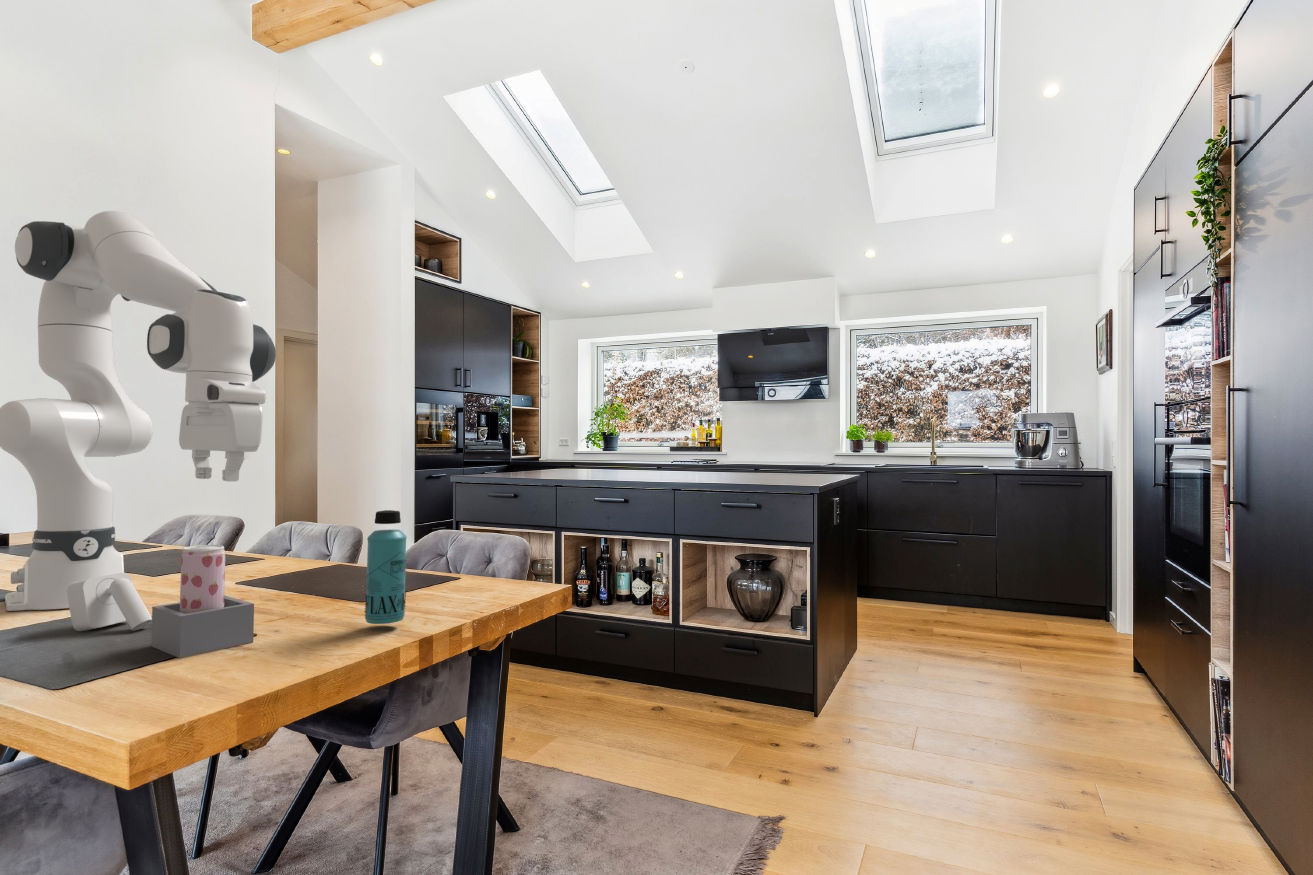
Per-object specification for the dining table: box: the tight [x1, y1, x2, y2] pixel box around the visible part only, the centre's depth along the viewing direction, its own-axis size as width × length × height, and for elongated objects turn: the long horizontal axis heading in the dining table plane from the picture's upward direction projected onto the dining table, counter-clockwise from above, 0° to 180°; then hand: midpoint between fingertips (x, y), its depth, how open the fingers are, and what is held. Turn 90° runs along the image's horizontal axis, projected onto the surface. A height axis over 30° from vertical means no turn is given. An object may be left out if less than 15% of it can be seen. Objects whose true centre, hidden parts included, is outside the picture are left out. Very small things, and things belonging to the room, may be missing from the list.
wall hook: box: [67, 572, 152, 632], centre depth 111 cm, size 8×10×10 cm
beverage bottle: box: [364, 509, 408, 625], centre depth 114 cm, size 6×7×20 cm
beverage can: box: [179, 544, 226, 614], centre depth 103 cm, size 6×6×15 cm
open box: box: [150, 594, 255, 659], centre depth 103 cm, size 10×10×6 cm
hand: (216, 480), depth 106 cm, fingers open, 8 cm apart
